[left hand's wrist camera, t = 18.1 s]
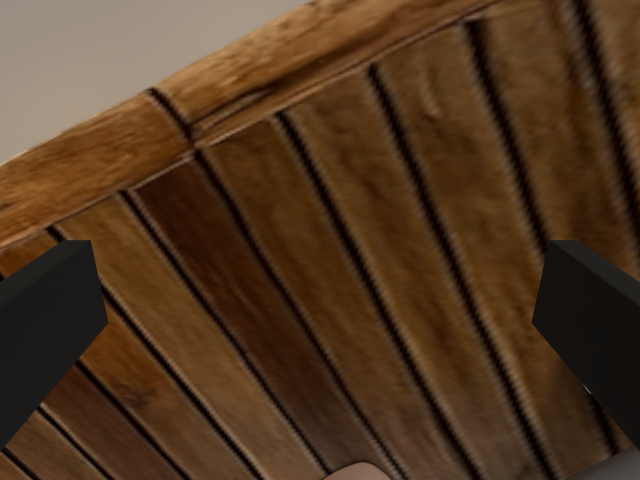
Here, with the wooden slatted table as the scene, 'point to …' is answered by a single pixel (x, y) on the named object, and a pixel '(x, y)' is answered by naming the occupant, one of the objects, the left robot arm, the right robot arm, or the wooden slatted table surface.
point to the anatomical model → (358, 473)
